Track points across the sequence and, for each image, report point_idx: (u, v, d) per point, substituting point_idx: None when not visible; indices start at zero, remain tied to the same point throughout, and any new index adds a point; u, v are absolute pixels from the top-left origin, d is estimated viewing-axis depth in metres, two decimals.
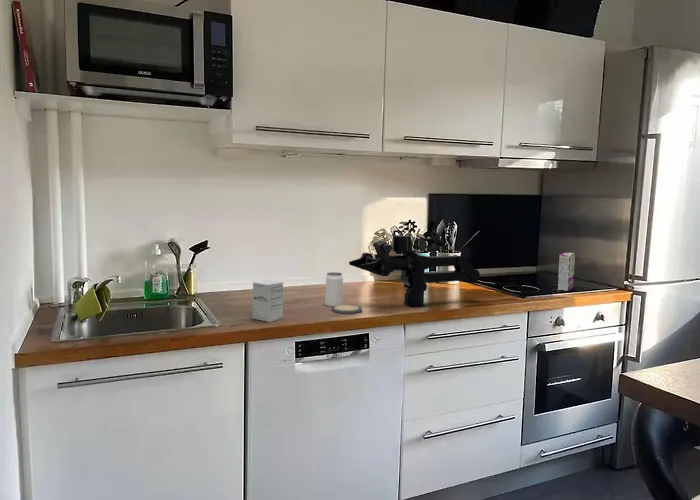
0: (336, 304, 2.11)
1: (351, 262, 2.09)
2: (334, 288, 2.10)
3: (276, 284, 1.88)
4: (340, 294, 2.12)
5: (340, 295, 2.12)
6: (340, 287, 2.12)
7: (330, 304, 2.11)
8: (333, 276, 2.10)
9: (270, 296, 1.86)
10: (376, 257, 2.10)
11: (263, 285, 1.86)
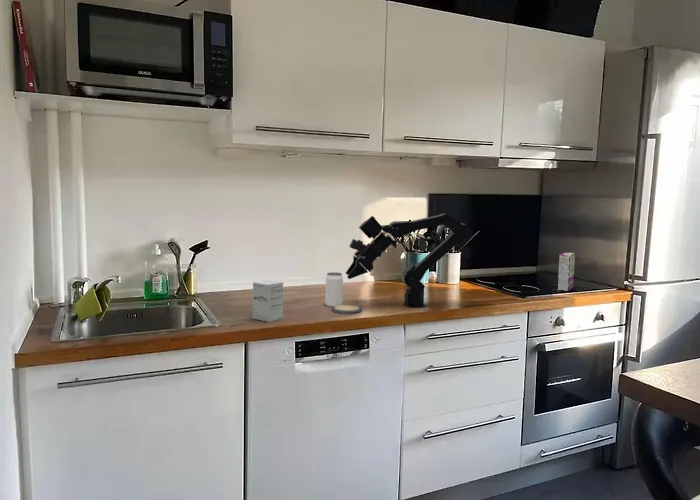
0: (336, 304, 2.11)
1: (347, 272, 2.18)
2: (334, 288, 2.10)
3: (276, 284, 1.88)
4: (340, 294, 2.12)
5: (340, 295, 2.12)
6: (340, 287, 2.12)
7: (330, 304, 2.11)
8: (333, 276, 2.10)
9: (270, 296, 1.86)
10: None
11: (263, 285, 1.86)
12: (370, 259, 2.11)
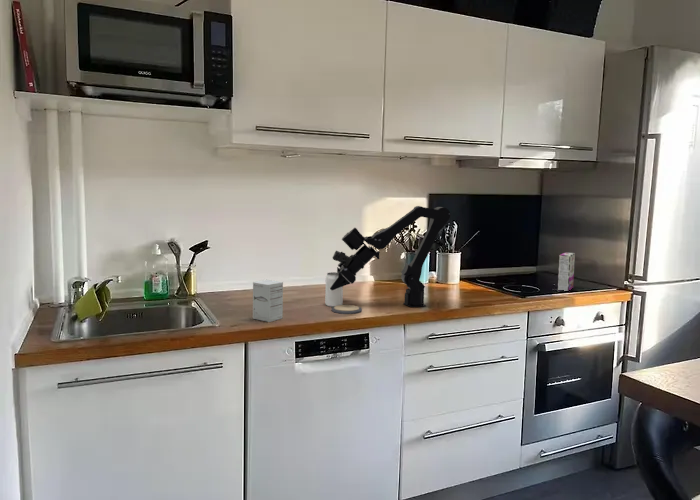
0: (336, 304, 2.11)
1: None
2: None
3: (276, 284, 1.88)
4: (340, 294, 2.12)
5: (340, 295, 2.12)
6: (340, 287, 2.12)
7: (330, 304, 2.11)
8: (333, 276, 2.10)
9: (270, 296, 1.86)
10: None
11: (263, 285, 1.86)
12: (353, 271, 2.11)
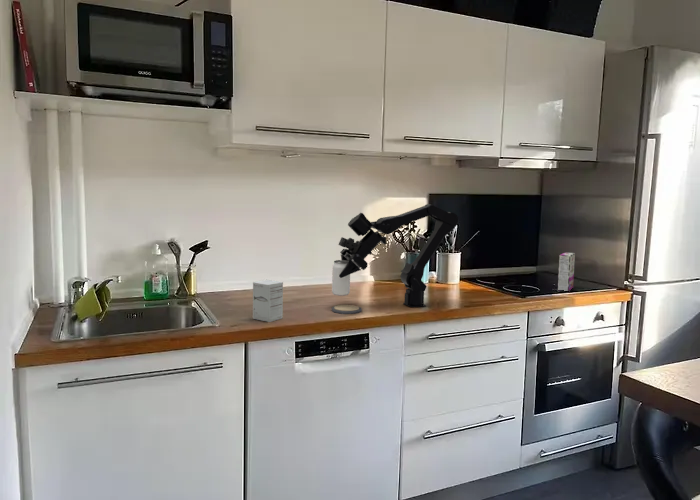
0: (345, 293, 2.06)
1: None
2: None
3: (276, 284, 1.88)
4: (348, 282, 2.07)
5: (348, 283, 2.07)
6: (348, 275, 2.06)
7: (338, 293, 2.06)
8: (342, 265, 2.04)
9: (270, 296, 1.86)
10: (350, 252, 2.09)
11: (263, 285, 1.86)
12: (361, 257, 2.06)
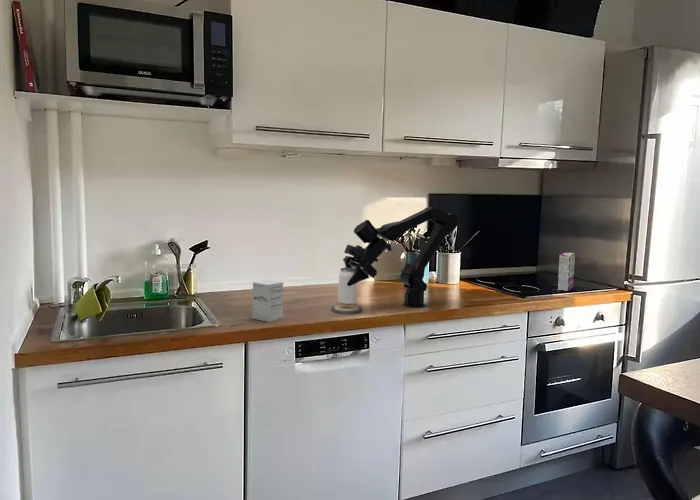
0: (352, 301, 2.03)
1: None
2: None
3: (276, 284, 1.88)
4: (355, 290, 2.04)
5: (355, 291, 2.04)
6: (355, 283, 2.03)
7: (346, 302, 2.03)
8: (350, 273, 2.01)
9: (270, 296, 1.86)
10: (356, 259, 2.07)
11: (263, 285, 1.86)
12: None
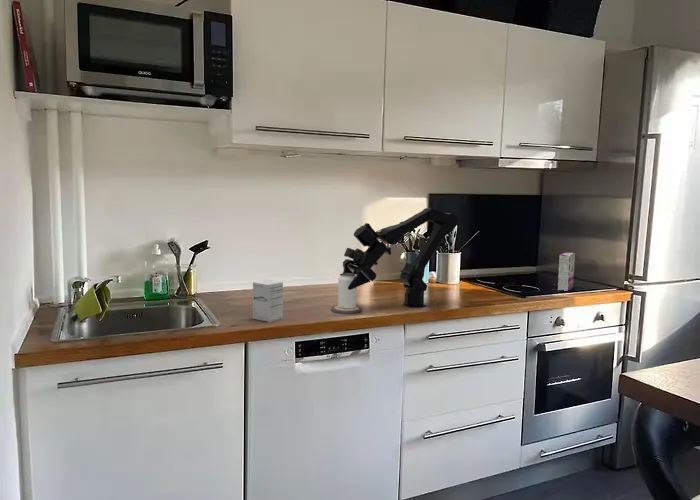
0: (352, 306, 2.04)
1: None
2: None
3: (276, 284, 1.88)
4: (355, 295, 2.04)
5: (355, 296, 2.05)
6: (355, 288, 2.04)
7: (346, 306, 2.03)
8: (349, 277, 2.02)
9: (270, 296, 1.86)
10: (355, 262, 2.07)
11: (263, 285, 1.86)
12: None
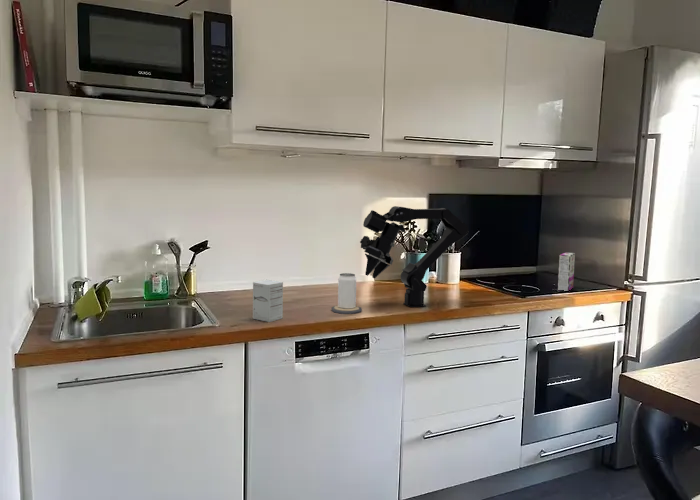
0: (352, 306, 2.04)
1: (373, 275, 2.14)
2: (350, 289, 2.02)
3: (276, 284, 1.88)
4: (355, 295, 2.04)
5: (355, 296, 2.05)
6: (355, 288, 2.04)
7: (346, 306, 2.03)
8: (349, 277, 2.02)
9: (270, 296, 1.86)
10: None
11: (263, 285, 1.86)
12: (382, 250, 2.07)
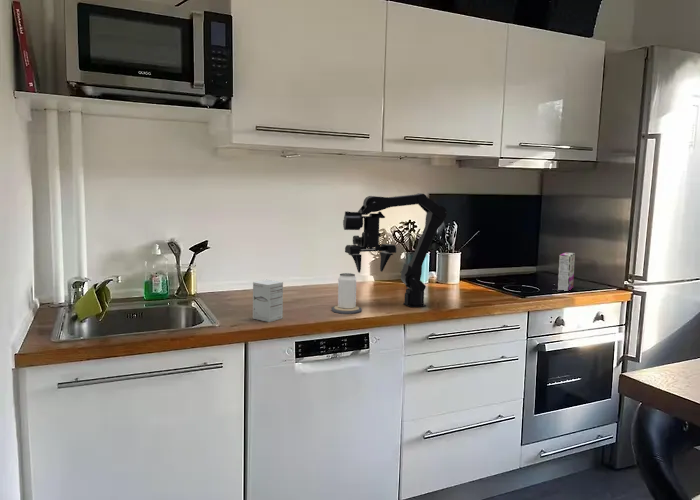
0: (352, 306, 2.04)
1: (380, 269, 2.14)
2: (350, 289, 2.02)
3: (276, 284, 1.88)
4: (355, 295, 2.04)
5: (355, 296, 2.05)
6: (355, 288, 2.04)
7: (346, 306, 2.03)
8: (349, 277, 2.02)
9: (270, 296, 1.86)
10: None
11: (263, 285, 1.86)
12: (365, 244, 2.09)
